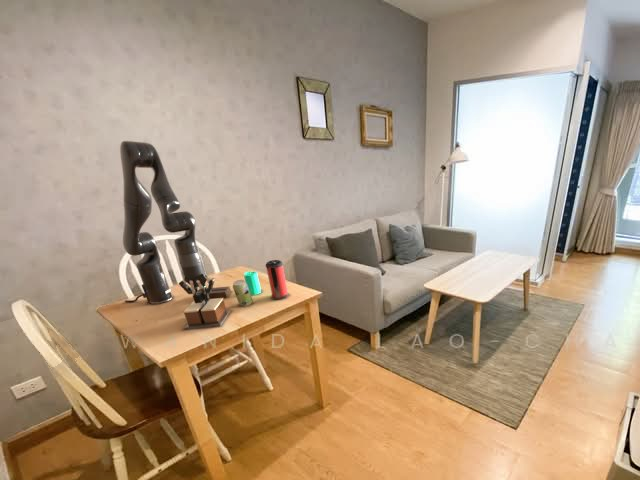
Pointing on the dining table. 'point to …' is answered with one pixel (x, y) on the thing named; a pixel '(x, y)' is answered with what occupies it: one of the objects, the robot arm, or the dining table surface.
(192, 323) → the split wooden block
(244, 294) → the beverage can
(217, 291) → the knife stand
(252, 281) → the candle
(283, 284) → the speaker
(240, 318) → the dining table surface
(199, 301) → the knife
